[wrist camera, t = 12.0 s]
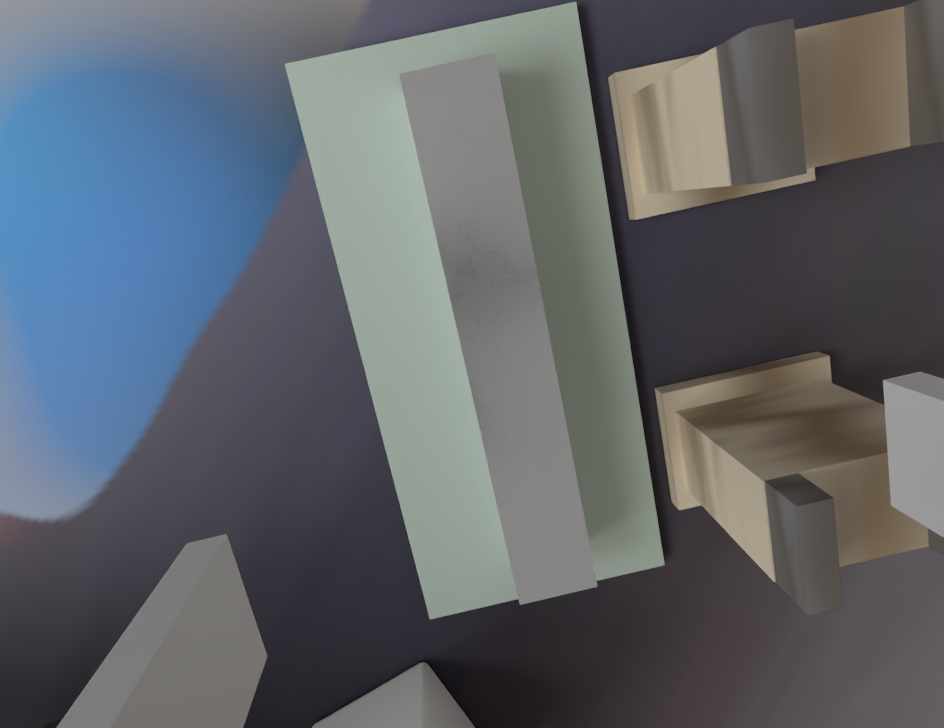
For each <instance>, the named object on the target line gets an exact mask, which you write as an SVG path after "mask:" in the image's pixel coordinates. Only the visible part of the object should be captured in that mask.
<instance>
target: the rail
mask: <svg viewBox="0 0 944 728" xmlns="http://www.w3.org/2000/svg"><path fill="white" fill-rule="evenodd" d="M399 76H400V82H401V87H402V92H403V97H404V101H405V105H406V110H407V114H408V118H409V123H410V127H411V132H412V136H413V140H414V145H415V149H416V154H417V158H418V162H419V167H420V171H421V176H422V180H423V184H424V189H425V193H426V197H427V202H428V206H429V211H430V215H431V219H432V224H433V228H434V233H435V237H436V241H437V246H438V250H439V255H440V259H441V263H442V268H443V272H444V277H445V281H446V285H447V290H448V294H449V298H450V303H451V307H452V312H453V316H454V320H455V325H456V329H457V334H458V338H459V342H460V347H461V351H462V356H463V360H464V364H465V369H466V373H467V377H468V382H469V386H470V391H471V395H472V399H473V404H474V408H475V413H476V417H477V421H478V426H479V430H480V435H481V439H482V443H483V448H484V452H485V457H486V461H487V465H488V470H489V474H490V478H491V483H492V487H493V492H494V496H495V500H496V505H497V509H498V514H499V518H500V522H501V527H502V531H503V536H504V540H505V544H506V549H507V553H508V557H509V562H510V566H511V570H512V574H513V579H514V583H515V587H516V591H517V595H518V599H519V604H520V605H522V604H526V603H530V602H535V601H539V600H543V599H547V598H552V597H556V596H560V595H564V594H569V593H573V592H577V591H581V590H585V589H590V588H594V587H598V586H597V580H596V575H595V570H594V565H593V560H592V555H591V549H590V544H589V539H588V534H587V529H586V523H585V518H584V513H583V508H582V503H581V497H580V492H579V487H578V482H577V477H576V472H575V466H574V461H573V456H572V451H571V446H570V440H569V435H568V430H567V425H566V420H565V414H564V409H563V404H562V399H561V394H560V389H559V383H558V378H557V373H556V368H555V363H554V357H553V352H552V347H551V342H550V337H549V331H548V326H547V321H546V316H545V311H544V306H543V300H542V295H541V290H540V285H539V280H538V274H537V269H536V264H535V259H534V254H533V248H532V243H531V238H530V233H529V228H528V223H527V217H526V212H525V207H524V202H523V197H522V191H521V186H520V181H519V176H518V171H517V166H516V160H515V155H514V150H513V145H512V140H511V134H510V129H509V124H508V119H507V114H506V108H505V103H504V98H503V93H502V88H501V83H500V77H499V72H498V67H497V62H496V57H495V53H491V54H487V55H482V56H478V57H473V58H469V59H464V60H459V61H455V62H450V63H446V64H441V65H437V66H432V67H428V68H423V69H419V70H414V71H410V72H405V73H401V74H399Z"/></svg>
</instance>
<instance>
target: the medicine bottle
mask: <svg viewBox="0 0 944 728" xmlns="http://www.w3.org/2000/svg"><path fill="white" fill-rule="evenodd" d="M312 728H475V727H474V725H473V724H472V723H471V721H470V720H469V719H468V717H467V716H466V715H465V713H464V712H463V711H462V709H461V708H460V707H459V705H458V704H457V703H456V701H455V700H454V698H453V697H452V696H451V694H450V693H449V692H448V690H447V689H446V688H445V686H444V685H443V684H442V682H441V681H440V680H439V678H438V677H437V676H436V674H435V673H434V672H433V670H432V669H431V668H430V666H429V665H428V664H427V663H425V662H421V663H419V664H417V665H415V666H413V667H412V668H410V669H408V670H407V671H405V672H403V673H401V674H400V675H398V676H396V677H395V678H393V679H391V680H389V681H388V682H386V683H384V684H382V685H381V686H379V687H377V688H376V689H374V690H372V691H370V692H369V693H367V694H365V695H364V696H362V697H360V698H358V699H357V700H355V701H353V702H351V703H350V704H348V705H346V706H345V707H343V708H341V709H339V710H338V711H336V712H334V713H333V714H331V715H329V716H327V717H326V718H324V719H322V720H320V721H319V722H317V723H315V724H314V725H313V726H312Z"/></svg>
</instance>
